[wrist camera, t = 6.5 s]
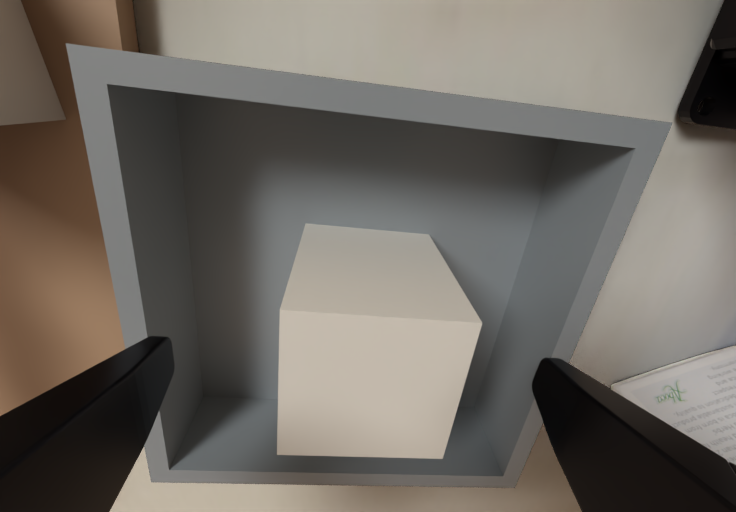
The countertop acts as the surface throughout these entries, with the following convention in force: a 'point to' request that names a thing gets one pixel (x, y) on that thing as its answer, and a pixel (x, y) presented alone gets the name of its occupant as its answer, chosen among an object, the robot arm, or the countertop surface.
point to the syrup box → (692, 398)
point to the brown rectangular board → (56, 219)
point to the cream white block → (23, 72)
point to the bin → (345, 209)
